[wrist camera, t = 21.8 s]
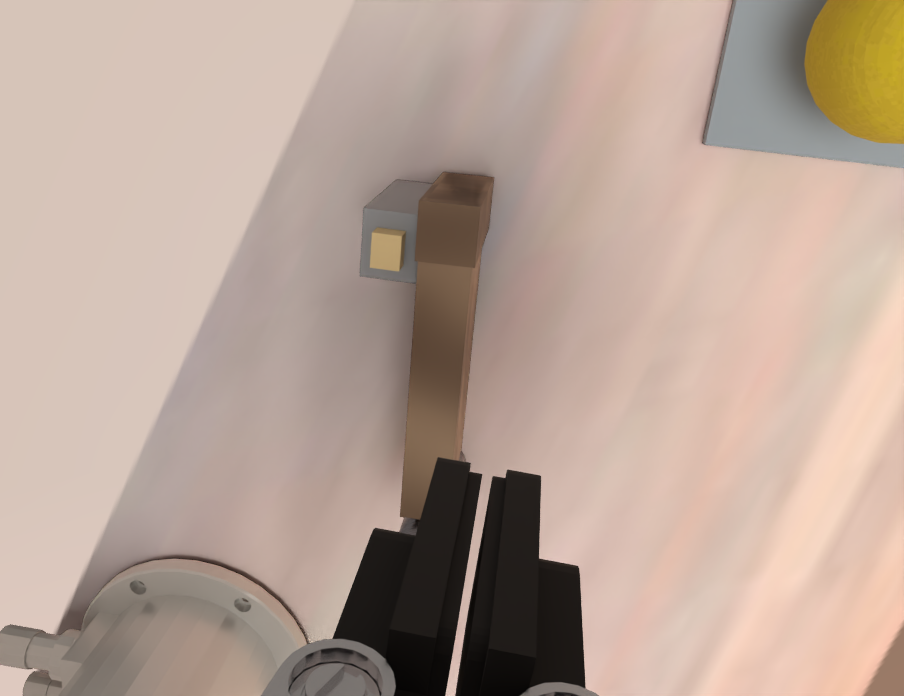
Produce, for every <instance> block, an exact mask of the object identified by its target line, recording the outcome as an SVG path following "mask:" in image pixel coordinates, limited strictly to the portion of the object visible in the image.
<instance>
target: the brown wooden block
mask: <svg viewBox="0 0 904 696" xmlns="http://www.w3.org/2000/svg"><path fill="white" fill-rule="evenodd" d="M493 183H494V177H485V176H476V175H466V174H457V173H447V172H443V173H442V174H441V175H440V176H439V178H438V179H437V180H436V181H435V182H434V183H433V185H432V186H431V187H430V188H429V189H428V190H427V191H426V193H425V194H424V195H423V196H422V197H421V198H420V200H419V203H418V218H417V232H416V247H415V261H418V268H417V282H416V296H415V311H414V325H413V339H412V353H411V367H410V382H409V396H408V410H407V424H406V438H405V453H404V467H403V481H402V495H401V509H400V517H406V518H413V519H420V518H421V515H422V511H423V507H424V504H425V500H426V497H427V493H428V490H429V486H430V482H431V479H432V475H433V472H434V468H435V465H436V461H437V458H438V457H441V458H446V459H452V460H457V461H459V457H460V452H461V448H462V439H463V429H464V419H465V409H466V399H467V389H468V379H469V369H470V360H471V350H472V340H473V330H474V320H475V310H476V300H477V291H478V281H479V271H480V261H481V251H482V246H483V243H484V241H485V238H486V235H487V232H488V229H489V222H490V212H491V203H492V193H493Z"/></svg>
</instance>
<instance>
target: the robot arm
mask: <svg viewBox="0 0 904 696" xmlns="http://www.w3.org/2000/svg"><path fill="white" fill-rule="evenodd" d="M470 464H471V463H468V462H463V461H457V460H452V459H446V458H441V457H438V458H437V461H436V465H435V468H434V472H433V475H432V479H431V482H430V486H429V490H428V493H427V497H426V500H425V504H424V507H423V511H422V515H421V518H420V522H419V525H418V529H417V532H416V535H410V534H405V533H400V532H394V531H389V530H384V529H378V528H375V529H374V530H373V532H372V534H371V537H370V539H369V542H368V545H367V547H366V550H365V553H364V555H363V558H362V561H361V563H360V566H359V569H358V572H357V574H356V577H355V580H354V582H353V585H352V588H351V590H350V593H349V596H348V598H347V601H346V604H345V607H344V609H343V612H342V615H341V617H340V620H339V623H338V625H337V628H336V631H335V634H334V636H333V639H324V640H320V641H317V642H313V643H309V644H307V642H306V640H305V637H304V635H303V633H302V631H301V630H300V628H299V626H298V625H297V623H296V621H295V620H294V618H293V617H292V616H291V615H290V614H289V612H288V611H287V610H286V609H285V608H284V607H283V606H282V604H281V603H280V602H279V601H278V600H277V599H275V598H274V597H273V596H272V595H270V594H269V593H268V592H267V591H266V590H264V589H263V588H262V587H261V586H259V585H257V584H256V583H254V582H252V581H251V580H249V579H247V578H245V577H244V576H242V575H240V574H238V573H235V572H233V571H230V570H228V569H226V568H223V567H221V566H217V565H213V564H209V563H205V562H201V561H197V560H185V559H164V560H153V561H150V562H146V563H143V564H139V565H135V566H133V567H131V568H129V569H127V570H125V571H123V572H122V573H120V574H118V575H117V576H115V577H114V578H113V579H112V580H111V581H110V582H109V583H107V584H106V585H105V586H104V587H103V589H102V590H101V591H100V592H99V594H98V595H97V596H96V597H95V599H94V600H93V601H92V602H91V604H90V606H89V608H88V610H87V612H86V614H85V616H84V618H83V622H82V627H81V630H75V629H69V630H66V631H65V632H64V633H63V634H62V635H61V636H60V635H54V634H48V633H46V632H44V631H43V630H38V629H33V628H27V627H21V626H16V625H8V626H5V627H4V628H3V629H2V630H1V631H0V665H5V666H11V667H17V668H22V669H32V668H35V669H40V670H46V671H48V673H43V672H35V671H34V672H33V673H32V674H30V675H29V677H28V678H27V680H26V682H25V685H24V688H23V696H445V694H446V688H447V682H448V676H449V671H450V665H451V659H452V653H453V648H454V642H455V636H456V630H457V624H458V618H459V612H460V606H461V600H462V594H463V588H464V581H465V575H466V569H467V563H468V557H469V551H470V545H471V539H472V533H473V527H474V521H475V515H476V509H477V503H478V497H479V490H480V484H481V478H482V474H479V473H473V472H469V471H470ZM540 497H541V476H540V475H534V474H529V473H523V472H518V471H512V470H507V473H506V478H501V477H495V476H493V478H492V483H491V488H490V494H489V500H488V505H487V511H486V516H485V522H484V527H483V533H482V538H481V544H480V549H479V555H478V561H477V566H476V572H475V577H474V583H473V588H472V594H471V599H470V605H469V610H468V616H467V622H466V628H465V635H464V642H463V648H462V655H461V662H460V668H459V675H458V682H457V688H456V695H455V696H599V695H597V694H596V693H594V692H592V691H589V690H587V689H585V669H584V650H583V630H582V610H581V590H580V573H579V568H578V566H575V565H570V564H565V563H559V562H554V561H549V560H543V559H539V533H540Z"/></svg>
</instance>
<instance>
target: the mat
mask: <svg viewBox="0 0 904 696" xmlns="http://www.w3.org/2000/svg"><path fill="white" fill-rule="evenodd" d="M826 2H827V0H733V4H732V8H731V13H730V17H729V22H728V27H727V31H726V36H725V41H724V45H723V50H722V54H721V59H720V64H719V68H718V73H717V78H716V82H715V87H714V92H713V96H712V101H711V105H710V110H709V115H708V119H707V124H706V129H705V133H704V138H703V142H702V143H703V144H705V145H710V146H719V147H728V148H736V149H745V150H753V151H762V152H770V153H779V154H788V155H796V156H805V157H813V158H822V159H831V160H839V161H848V162H856V163H865V164H873V165H882V166H891V167H899V168H904V144H891V143H877V142H873V141H869V140H866V139H863V138H859V137H856V136H853V135H851V134H849V133H847V132H846V131H844V130H843V129H841V128H840V127H838V126H837V125H835V124H834V123H832V122H831V121H830V120H829V119H828V118H827V117H826V116H825V114H824V113H823V112H822V111H821V110H820V109H819V107H818V106H817V105H816V104H815V101H814V99H813V97H812V95H811V92H810V90H809V88H808V86H807V79H806V72H805V65H804V62H805V54H806V45H807V41H808V38H809V35H810V32H811V30H812V27H813V24H814V21H815V19H816V18H817V16H818V15H819V13H820V12H821V10H822V8H823V7H824V5H825V4H826Z"/></svg>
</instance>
